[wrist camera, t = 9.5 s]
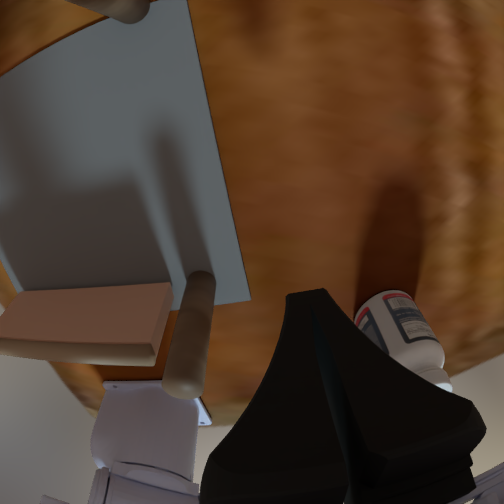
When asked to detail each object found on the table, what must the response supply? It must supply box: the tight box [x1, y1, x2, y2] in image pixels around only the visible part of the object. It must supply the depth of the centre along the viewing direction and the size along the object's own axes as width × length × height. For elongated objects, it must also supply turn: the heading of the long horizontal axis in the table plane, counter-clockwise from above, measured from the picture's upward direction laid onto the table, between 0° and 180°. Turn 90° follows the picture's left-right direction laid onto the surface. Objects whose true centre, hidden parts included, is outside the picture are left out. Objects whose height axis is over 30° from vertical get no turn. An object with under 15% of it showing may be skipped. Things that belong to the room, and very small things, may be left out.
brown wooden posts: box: [65, 0, 217, 400], centre depth 13 cm, size 2×20×9 cm, turn 10°
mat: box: [0, 0, 251, 311], centre depth 18 cm, size 20×20×1 cm
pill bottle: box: [354, 290, 452, 392], centre depth 20 cm, size 5×5×9 cm
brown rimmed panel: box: [0, 282, 174, 366], centre depth 18 cm, size 14×1×7 cm, turn 96°
